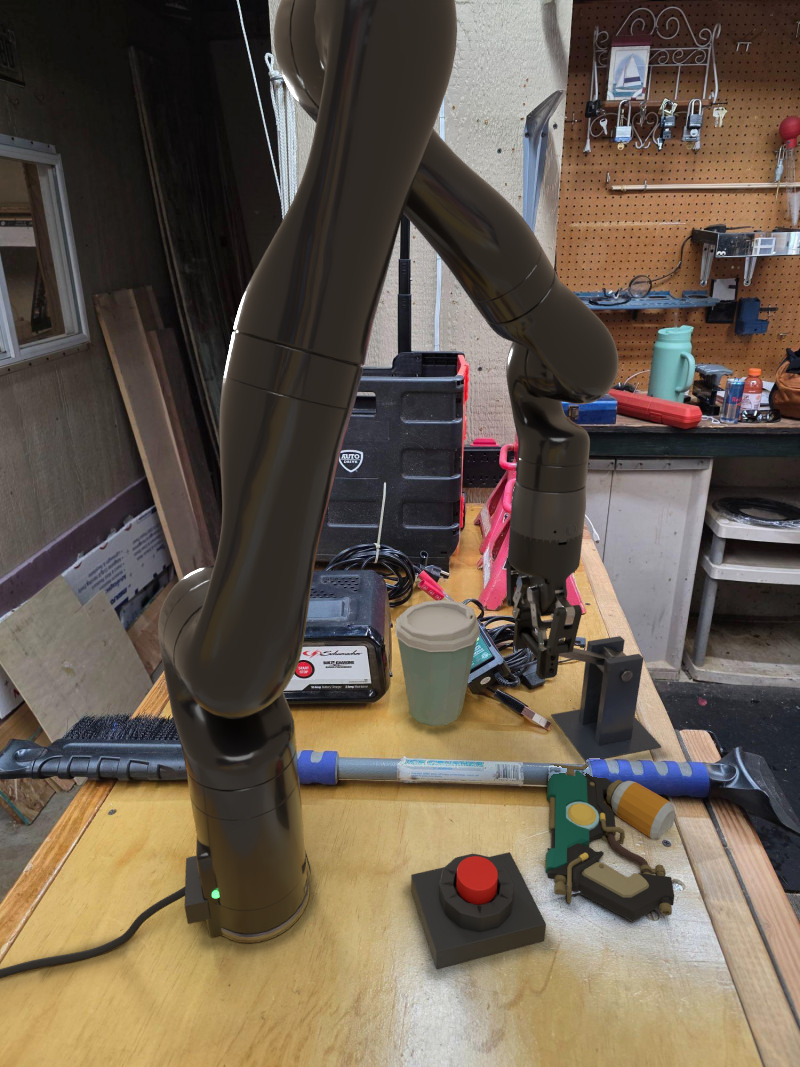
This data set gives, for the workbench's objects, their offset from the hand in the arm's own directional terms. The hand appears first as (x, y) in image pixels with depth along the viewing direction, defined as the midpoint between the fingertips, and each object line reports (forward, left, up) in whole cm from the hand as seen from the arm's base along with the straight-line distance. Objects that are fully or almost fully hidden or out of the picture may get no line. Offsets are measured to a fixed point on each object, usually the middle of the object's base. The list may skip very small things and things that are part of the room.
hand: (534, 661), depth 78 cm
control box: (-14, -19, -13) cm, 27 cm away
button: (-14, -19, -9) cm, 25 cm away
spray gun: (+1, -15, -13) cm, 20 cm away
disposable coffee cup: (-8, +10, -13) cm, 19 cm away
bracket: (+10, 0, -13) cm, 17 cm away
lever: (+5, 0, -1) cm, 5 cm away
